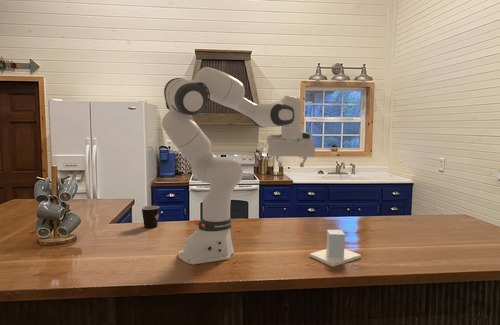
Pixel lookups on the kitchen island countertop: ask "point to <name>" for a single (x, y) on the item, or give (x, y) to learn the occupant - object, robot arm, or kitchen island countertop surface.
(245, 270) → the kitchen island countertop surface
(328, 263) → the post board
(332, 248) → the tall grey rectangular prism
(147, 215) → the coffee mug
